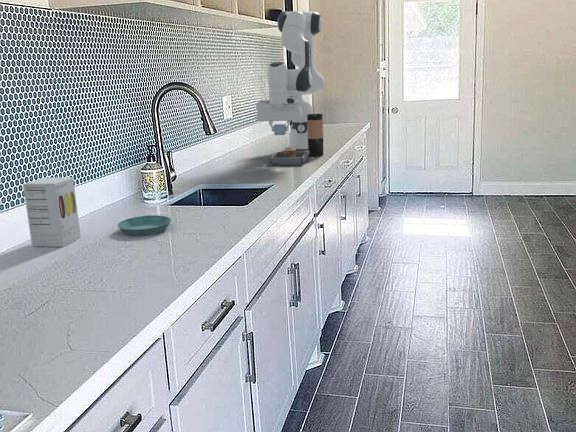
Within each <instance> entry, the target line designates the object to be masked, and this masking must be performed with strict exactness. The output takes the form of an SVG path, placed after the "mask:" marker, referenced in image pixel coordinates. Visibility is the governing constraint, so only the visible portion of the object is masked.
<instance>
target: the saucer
mask: <svg viewBox="0 0 576 432" xmlns="http://www.w3.org/2000/svg"><path fill="white" fill-rule="evenodd" d="M171 221H172V218H171V217H168V216H166V215H152V214H151V215H142V216H141V215H140V216H134V217H129V218H126V219H124V220H121V221H120V222H118V223H117V224H116V225H117V228H119V230H120V231H122V232H123V233H124V234H126V235H128V236H149V235H155V234H159V233H162V232H164V231H165V230H166V229H167V228H168V227H169V226H170V224H171Z"/></svg>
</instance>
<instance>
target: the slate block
mask: <svg viewBox="0 0 576 432" xmlns="http://www.w3.org/2000/svg"><path fill="white" fill-rule="evenodd" d="M273 126H274V131H273V134H274V136H285V135H286V134H287V131H285V127H287V123H279V124H278V123H276V124H274V125H273Z"/></svg>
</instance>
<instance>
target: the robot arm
mask: <svg viewBox="0 0 576 432" xmlns="http://www.w3.org/2000/svg"><path fill="white" fill-rule="evenodd" d="M277 27H278V28H277V29H278V31H279V32H280V33H281V35H280V38H281V39H280V41H281V44H282V46H283V47H284V49H286V50H287V51H288V52H290V53H291V54H290V55H291V57H290V59H291V62H292V64H293V65H294V66H296V67H298V68H295V69H287V64H286V62H284V61H275V62H271V63H269V65H268V69H267V70H268V71H267V72H268V73H267V84H268V99H267V100H263V99H262V100H261V99H260V100H259V101H257V102H256V104H255V106H256V110H257V112H256V120H257V121H258V122H268V125H269V126H270V127H271V132H274V125H273V123H274V122H284V121H285V122H286V127H285V131H286V132H288V131H289V128H290V125H291V130H290V132H289V133H288V145H286V147H285V149H296V150H308V132H307V115H308V114H314V113H313V112H314V111H313V106H312V105H311V103H309V102H308V101H305V100H304V99H303V96H306V95H316V94H320V93H322V92H323V91H324V89H325V86H326V82H325V81H326V80H325V78H324V76H323V75H322V74H321V73H320V72H319V71H318V70H317V68H316V66H315V64H314V38H313V37H314V36H315V35H317V34H319V33H320V32H321V30H322V27H323V18H322V15H321V14H320V12H316V11H306V10H300V11H299V10H293V11H289V10H288V11H287V10H285V11H282V12H280V13H279V14H278V18H277Z"/></svg>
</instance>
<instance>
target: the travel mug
mask: <svg viewBox="0 0 576 432" xmlns="http://www.w3.org/2000/svg"><path fill="white" fill-rule="evenodd" d="M323 117H324V116H323V113H313V114H308V115H307V132H308V149H307V151H308V157H312V158H316V157H323V156H324V121H323V120H324V119H323Z"/></svg>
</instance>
